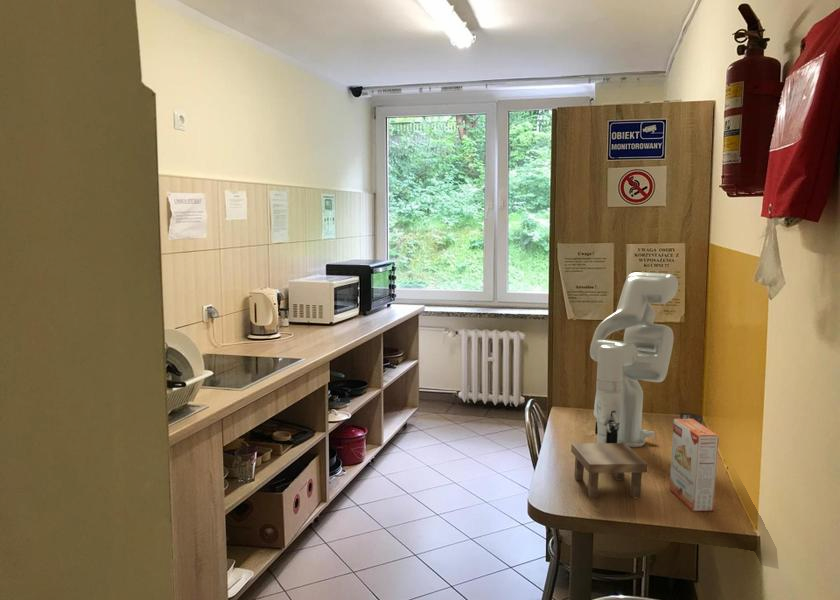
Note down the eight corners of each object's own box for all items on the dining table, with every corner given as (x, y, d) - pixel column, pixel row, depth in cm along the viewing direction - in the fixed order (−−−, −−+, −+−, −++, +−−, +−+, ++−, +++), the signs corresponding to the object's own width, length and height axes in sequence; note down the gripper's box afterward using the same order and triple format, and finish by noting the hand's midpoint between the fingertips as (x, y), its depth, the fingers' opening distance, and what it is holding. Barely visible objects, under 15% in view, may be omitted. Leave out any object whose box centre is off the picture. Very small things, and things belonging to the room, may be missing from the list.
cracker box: (667, 489, 185) (672, 417, 182) (688, 489, 185) (693, 417, 183) (691, 512, 171) (697, 434, 168) (713, 511, 172) (720, 434, 169)
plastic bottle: (609, 458, 208) (613, 396, 205) (619, 466, 201) (623, 403, 198) (590, 459, 207) (593, 397, 204) (599, 467, 200) (603, 403, 197)
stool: (623, 475, 194) (625, 443, 193) (645, 499, 178) (647, 463, 177) (569, 476, 193) (571, 443, 192) (587, 500, 177) (589, 464, 176)
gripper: (587, 378, 209) (584, 430, 211) (607, 392, 192) (603, 449, 194) (610, 378, 209) (607, 430, 212) (632, 392, 192) (628, 449, 194)
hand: (605, 439), depth 203 cm, fingers open, 9 cm apart
